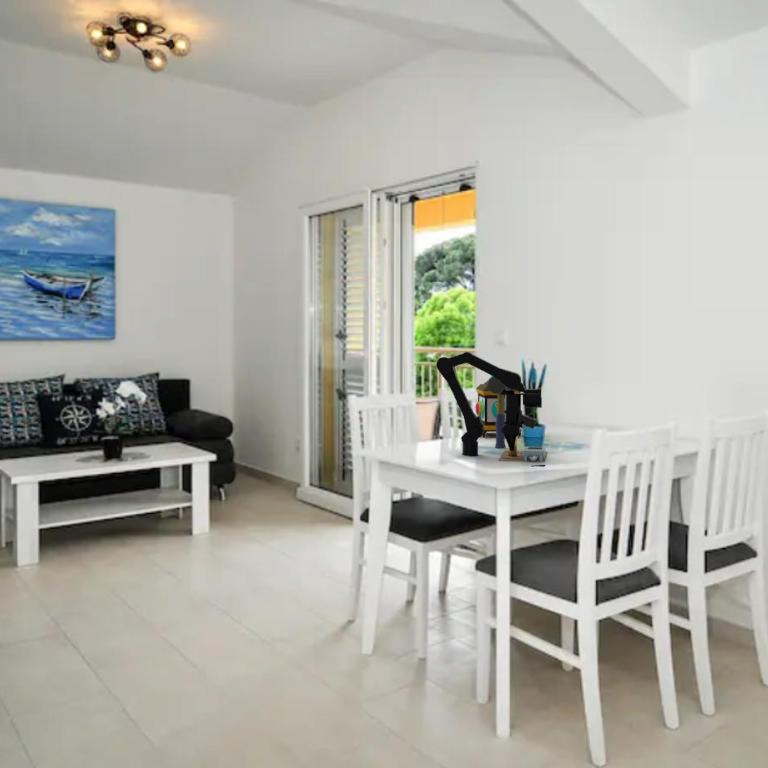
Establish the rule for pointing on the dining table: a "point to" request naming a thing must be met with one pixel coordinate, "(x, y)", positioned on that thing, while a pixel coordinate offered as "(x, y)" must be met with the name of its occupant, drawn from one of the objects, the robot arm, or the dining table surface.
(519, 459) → the board
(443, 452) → the dining table surface
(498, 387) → the rubber mallet
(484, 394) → the decorative lantern
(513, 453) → the pin
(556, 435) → the dining table surface
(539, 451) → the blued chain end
